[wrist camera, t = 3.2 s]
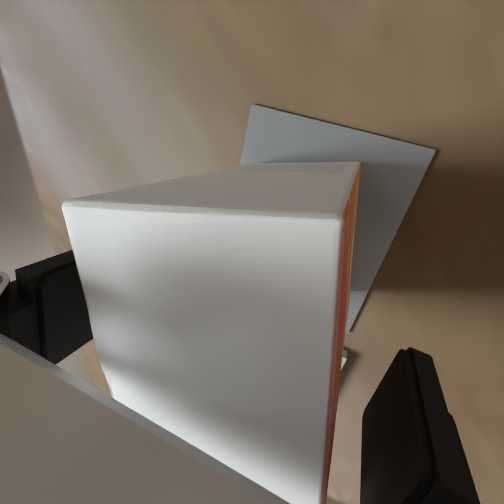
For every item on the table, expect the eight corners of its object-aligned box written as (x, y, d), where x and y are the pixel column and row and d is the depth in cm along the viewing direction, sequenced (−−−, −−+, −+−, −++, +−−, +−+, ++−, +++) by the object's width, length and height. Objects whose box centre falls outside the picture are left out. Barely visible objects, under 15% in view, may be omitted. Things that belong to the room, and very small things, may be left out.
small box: (351, 292, 18) (323, 539, 7) (257, 280, 21) (120, 455, 9) (364, 158, 16) (349, 213, 4) (252, 160, 18) (47, 200, 6)
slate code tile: (252, 104, 17) (251, 103, 17) (435, 149, 15) (436, 150, 14) (217, 277, 22) (216, 279, 22) (348, 331, 20) (348, 333, 20)
